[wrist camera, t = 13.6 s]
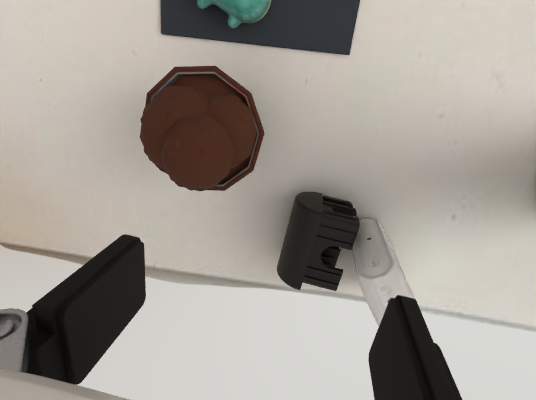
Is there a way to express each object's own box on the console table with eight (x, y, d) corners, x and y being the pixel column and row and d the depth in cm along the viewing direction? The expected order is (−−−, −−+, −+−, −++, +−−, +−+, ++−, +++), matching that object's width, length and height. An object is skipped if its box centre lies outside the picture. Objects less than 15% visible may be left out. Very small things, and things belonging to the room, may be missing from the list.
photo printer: (343, 224, 38) (354, 287, 26) (377, 211, 36) (404, 272, 25) (373, 287, 40) (394, 369, 29) (405, 277, 39) (441, 359, 28)
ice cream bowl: (288, 84, 33) (267, 89, 19) (259, 177, 37) (225, 236, 23) (196, 53, 33) (109, 36, 19) (178, 149, 37) (97, 191, 23)
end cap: (297, 184, 37) (293, 206, 30) (354, 198, 36) (362, 224, 30) (280, 252, 41) (273, 284, 34) (331, 266, 40) (334, 300, 34)
